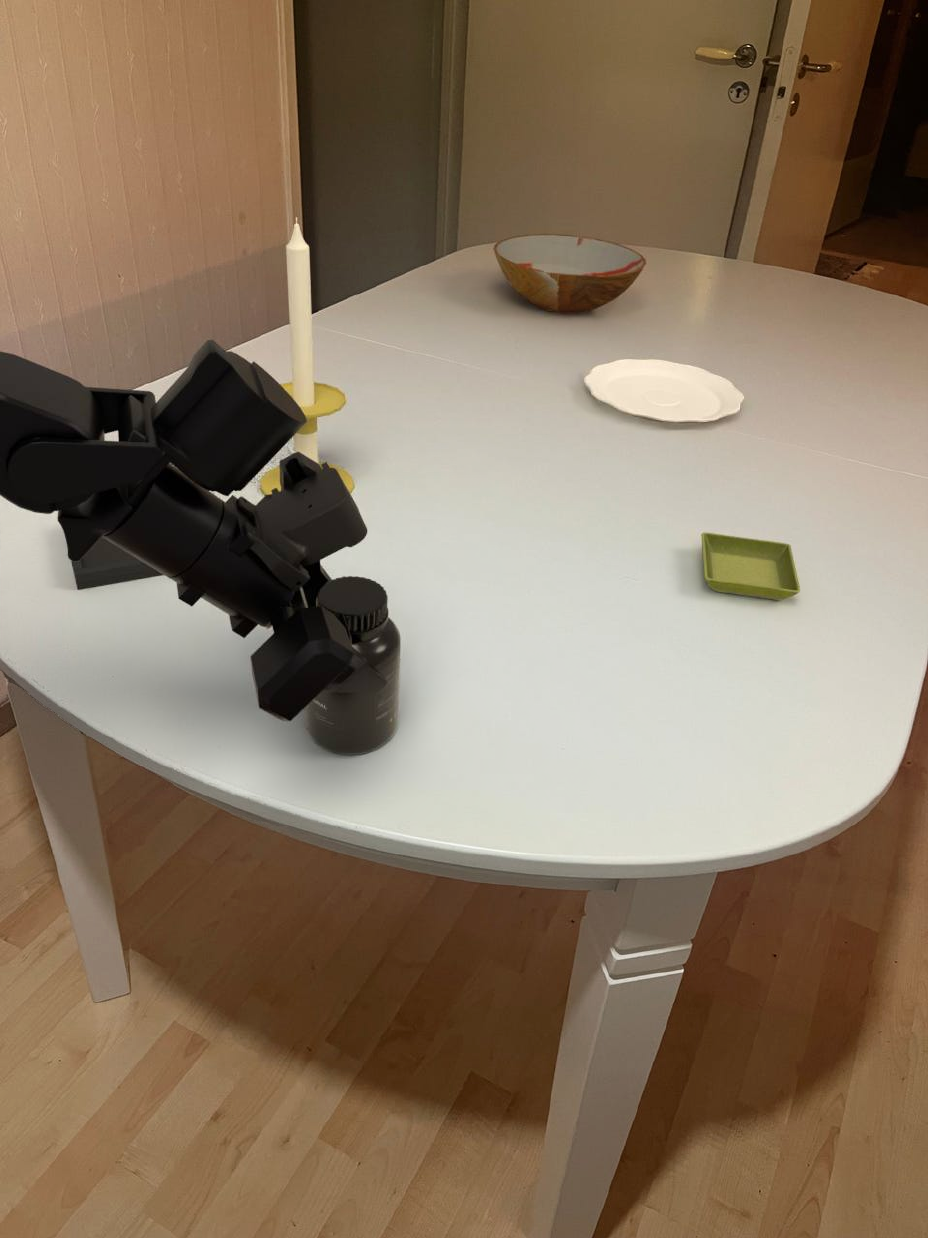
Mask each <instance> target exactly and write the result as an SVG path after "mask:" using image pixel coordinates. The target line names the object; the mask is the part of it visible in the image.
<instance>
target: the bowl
mask: <svg viewBox="0 0 928 1238" xmlns="http://www.w3.org/2000/svg"><path fill="white" fill-rule="evenodd" d="M493 252H494V256H495V259H496V261H497V263H498V266H499V268H500V271H501V273H502V274H503V275H504V277H505V279H506V280H507V282H509V284H510V285H511V286H512V288H513V289H514V290H515V291H516V292H518V293H519V294H520V295H521V296H523V298H525V299H526V300H528V301H529V302H530V303H532V304H533V305H534V306H536V307H538V308H540V309H543V310H546V311H551V312H555V313H562V314H582V313H583V314H584V313H589V312H592V311H594V310H596V309H598V308H600V307H602V306H604V305H606V304H608V303H610V302H612V301H614V300H616V299H617V298H619V297H620V296H621V295H622V294H624V293H625V292H626V291H627V290H628V289H629V288H631V286H632V285H633V284H634V282H636V280H637V278H639V276H640V274H641V273H642V271H643V270H644V268H645V267H646V265H647V259H646V258H645V257H644V256H643V255H642V254H641V253H640V252H637V251H636V250H634V249H632V248H630V247H628V246H624V245H621V244H619V243H616V242H612V241H609V240H604V239H599V238H594V237H587V236H582V235H571V234H558V233H535V234H534V233H533V234H524V235H523V234H522V235H516V236H511V237H508V238H505V239H502V240H499V241H498V242H496V244H494V246H493Z"/></svg>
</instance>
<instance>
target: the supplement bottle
mask: <svg viewBox="0 0 928 1238" xmlns="http://www.w3.org/2000/svg"><path fill="white" fill-rule="evenodd" d="M316 606H322V607H324V608H325V609H327V610H328V611H329V612H331V613H332V614H334V615H335V617H336V618H337V617H338V616H339V615H340V614H341V613H343V615H344V617H345V620H346V623H347V626H348V629H349V632H350V634H351V638H352V644H351V646H352V647H353V648H354V649H356V650H357V651H358V652H359V653H360V654H361V655H362V656H363V657H364V658H365V659H366V660H368V661H369V662H370V663H371V664H372V665H373V666H374V667H375V668H376V669H377V670H378V671H379V672H380V673H381V674H382V675H383V676H384V677H385V678H386V679H387V682H388V683H387V685H386V686H385V687H384V688H383V689H382V690H380V691H379V692H377V693H354V692H326V693H320V694H319V695H318V696H316V697H315V698H314V699H313V700H312V701H311V702H310V703H309V704H308V705H307V706H306V707H305V708H304V713H305V714H304V715H305V726H306V730H307V732H308V735H309V736H310V737H311V739H312V740H313V741H314V742H315V743H316V744H317V745H318V746H320V747H322V748H323V749H324V750H327V751H329V752H331V753H336V754H339V755H340V754H341V755H351V756H355V755H362V754H366V753H370V752H373V751H375V750H377V749H379V748H381V747H382V746H384V745H385V744H386V743H387V742H388V741H390V739H391V738H392V737H393V735H394V734H395V731H396V729H397V726H398V719H399V718H398V717H399V700H400V699H399V698H400V697H399V696H400V677H401V676H400V674H401V651H402V648H401V647H402V645H401V643H402V642H401V639H402V638H401V634H400V631H399V628H398V627H397V625H396V624H395V622H394V621H393V620H392V619H391V618H390V617H389V608H388V594H387V591H386V589H385V588H384V586H382V585H381V584H380V583H378V582H377V581H376V580H373V579H371V578H366V577H364V576H352V575H349V576H342V577H336V578H332V580H331V581H329V582H326V583H325V584H324V585H322V587H321V588H320V589H319V591H318V592H317V597H316Z"/></svg>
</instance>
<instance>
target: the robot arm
mask: <svg viewBox="0 0 928 1238" xmlns="http://www.w3.org/2000/svg"><path fill="white" fill-rule="evenodd" d="M280 384H281V383H279V382H278V381H277V380H276V379H275V378H274V377H273V376H272V375H271V374H270V373H269V372H268V371H266V370H265V369H264V368H263V367H262V366H260V365H259V364H258V363H257V362H255V361H254V360H253V361H252V362H250V361H249V360H247V359H246V358H245V357H243V356H241V355H240V354H238V353H236V352H233V351H229V350H228V351H226V349H225V348H223V347H222V346H221V345H220V344H218V343H217V342H216V341H214V339H207V340H206V341H205V342H204V343H203V345H201V347H200V348H199V349H198V350H197V351H196V352H195V354H193V356H192V358H191V360H190V362H189V364H188V365H187V367H186V368H185V370H184V371H183V372H182V374H181V375H179V377H177V379H176V380H175V381H174V382H173V383H172V384H171V386H170V387H169V388H168V389H167V390H166V391H165V393H164V394H163V395H161V397H160V398H159V399H158V400H157V401H156V395H155V394H154V392H152V391H150V390H139V389H138V390H137V389H124V388H123V389H122V388H110V387H109V388H107V387H94V386H85V385H83V383H81V382H80V381H78V380H76V379H74V378H72V377H70V376H68V375H66V374H63V373H61V372H58V371H56V370H55V369H51V368H49V367H46V366H44V365H41V364H39V363H36V362H35V361H32V360H29V359H27V358H25V357H22V356H19V355H17V354H14V353H9V352H5V351H0V497H2V498H3V499H5V500H6V501H8V502H9V503H11V504H13V505H15V506H16V507H18V508H20V509H23V510H25V511H28V512H32V513H34V514H43V515H51V514H53V513H54V512H57V522H58V524H59V525H60V527H61V529H62V531H63V534H64V537H65V542H66V549H67V558H68V560H69V561H74V562H77V561H79V560H81V559H82V558H83V557H84V556H85V555H86V554H87V552H88V551H89V550H90V549H91V548H92V547H93V546H94V545H95V544H96V543H97V542H98V540H99V539H100V538H102V537H103V538H105V539H106V540H108V541H110V542H111V543H113V544H115V545H116V546H118V547H119V548H121V549H123V550H124V551H126V552H128V553H129V554H131V555H132V556H134V557H136V558H137V559H139V560H141V561H142V562H144V563H146V564H147V565H149V566H150V567H152V568H154V569H155V570H157V571H159V572H160V573H162V574H163V575H162V576H165V577H167V578H168V579H170V580H172V581H173V582H175V583H176V590H177V596H178V598H177V599H178V600H180V601H182V602H183V603H184V604H187V605H188V606H189V607H193V606H194V605H195V604H196V603H197V602H199V600H200V599H202V600H203V601H205V602H207V603H209V604H211V605H212V606H214V607H216V608H217V609H219V610H220V611H222V612H224V613H225V614H227V615H228V617H229V622H230V628H231V631H232V633H235V634H237V636H240V637H241V638H243V639H245V638H247V636H248V635H250V634H251V632H252V631H254V629H256V627H258V626H260V627H263V628H265V629H266V630H269V629H271V628H272V631H273V634H271V635H270V636H269V637H268V638H267V640H265V641H264V642H263V643H262V644H261V645H260V646H259V647H258V648H257V649H256V650H255V651H254V652H253V653H252V654H251V655H250V666H251V667H250V668H251V674H252V680H253V685H254V690H255V694H256V699H257V704H258V705H257V706H258V708H259V709H260V710H262V711H264V712H265V713H267V714H269V715H271V716H272V717H274V718H276V719H278V720H280V721H282V722H291V721H292V720H293V719H295V718H296V716H298V715H299V714H300V713H301V712H302V711H303V710H305V707H306V706H307V705H308V704H309V703H310V702H311V701H312V700H313V699H314V698H315V697H316V696H318V695H319V694H320V693H326V692H354V693H377V692H379V691H380V690H382V689H383V688H384V687H385V686H386V685H387V683H388V682H387V679H386V678H385V677H384V676H383V675H382V674H381V673H380V672H379V671H378V670H377V669H376V668H375V667H374V666H373V665H372V664H371V663H370V662H369V661H368V660H366V659H365V658H364V657H363V656H362V655H361V654H360V653H359V652H358V651H357V650H356V649H354V648H353V647H352V646H351V644H352V638H351V634H350V632H349V629H348V626H347V623H346V620H345V617H344V615H343V613H341V614H340V615H339V616H338V617H337V618H336V617H335V615H334V614H332V613H331V612H329V611H328V610H327V609H325V608H324V607H322V606H316V597H317V592H318V591H319V589H320V588H321V587H322V585H324V584H325V583H326V582H329V581H331V580H333V578H332V577H331V576H330V575H329V574H328V572H327V571H326V570H325V568H324V567H323V566H322V565H321V560H323V559H325V558H328V557H329V556H331V555H333V554H335V553H337V552H339V551H342V550H343V549H345V548H353V547H354V546H357V545H359V544H360V543H361V542H363V541H364V540H365V538H366V537H367V535H368V527H367V525H366V523H365V521H364V519H363V516H362V514H361V512H360V509H359V507H358V505H357V503H356V501H355V500H354V498H353V496H352V493H349V491H348V489H347V487H346V486H345V484H344V482H343V480H342V478H341V477H340V475H339V473H338V471H337V470H336V469H335V468H330V467H329V465H328V462H327V461H325V462H322V463H323V464H321V466H322V468H323V469H322V468H321V466H320V465H319V464H318V463H316V462H315V461H313V460H312V459H310V458H308V457H307V456H305V455H303V454H302V453H300V452H296V453H294V452H293V453H292V454H290V455H288V456H286V457H284V458H283V459H280V460H279V465H278V466H280V485H281V491H280V492H279V491H278V489H277V488H275V489H273V490H271V492H272V494H269V495H264V496H263V498H261V499H260V501H258V503H257V504H254V503H252V502H251V501H249V500H248V499H247V498H245V497H244V496H239V497H236V496H235V495H233V494H232V493H233V492H241V491H242V490H244V489H245V488H246V486H248V484H250V482H251V481H252V480H253V479H254V478H256V476H257V475H258V474H259V473H260V472H261V471H262V470H263V469H264V468H265V466H267V465H268V463H270V461H271V460H272V459H273V458H274V457H276V455H277V454H278V453H279V452H280V451H281V450H282V449H283V448H284V447H285V446H286V445H287V443H289V442H290V440H291V439H292V438H293V436H294V435H295V434H296V433H297V432H298V431H299V430H300V429H301V428H302V427H303V426H304V425H305V424H306V422H307V419H306V416H305V414H304V413H303V411H302V410H301V408H300V407H299V406H298V404H297V403H296V402H295V400H294V399H293V398H292V397H291V396H290V395H289V393H288V392H287V391H286V390H285V389H284V388H283V387H282V386H281V385H280ZM115 432H117V436H118V438H117V439H118V441H117V440H105V439H106V438H105V436H106V434H110V433H115ZM213 492H216V493H217V494H220V495H222V496H225V497H229V496H230V495H231V494H232V495H231V496H230V497H229V498H228V499H227V500H226V501H224V500H223V499H221V498H220V497H218V495H215V494H214V493H213Z"/></svg>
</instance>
